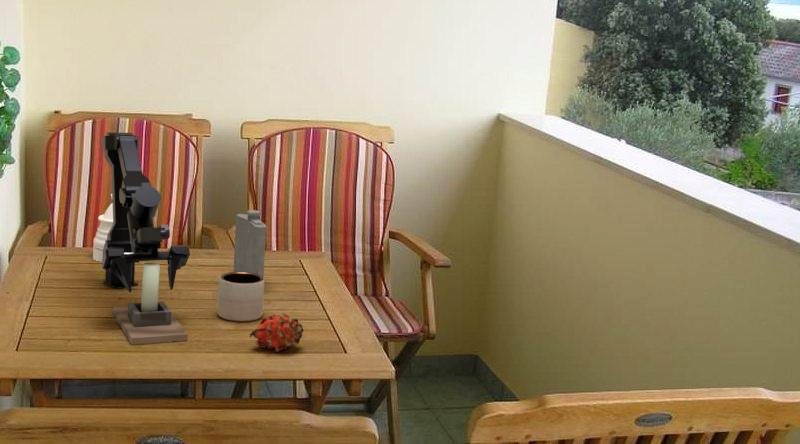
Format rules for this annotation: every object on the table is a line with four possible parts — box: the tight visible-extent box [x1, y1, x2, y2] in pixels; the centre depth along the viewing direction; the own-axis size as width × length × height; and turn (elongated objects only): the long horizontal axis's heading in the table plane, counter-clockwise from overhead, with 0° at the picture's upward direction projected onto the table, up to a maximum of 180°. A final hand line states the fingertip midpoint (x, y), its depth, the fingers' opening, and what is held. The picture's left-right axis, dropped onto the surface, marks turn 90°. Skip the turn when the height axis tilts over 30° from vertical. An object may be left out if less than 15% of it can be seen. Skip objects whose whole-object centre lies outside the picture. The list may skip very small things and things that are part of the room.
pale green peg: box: [140, 262, 161, 312], centre depth 213 cm, size 4×4×13 cm
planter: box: [216, 271, 266, 323], centre depth 227 cm, size 11×11×10 cm
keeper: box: [112, 301, 188, 346], centre depth 214 cm, size 22×12×4 cm, turn 27°
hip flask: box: [232, 209, 267, 278], centre depth 253 cm, size 16×4×20 cm, turn 31°
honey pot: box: [92, 193, 113, 263], centre depth 267 cm, size 13×13×18 cm
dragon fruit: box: [249, 312, 305, 353], centre depth 208 cm, size 8×8×12 cm
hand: (151, 290), depth 212 cm, fingers open, 9 cm apart
